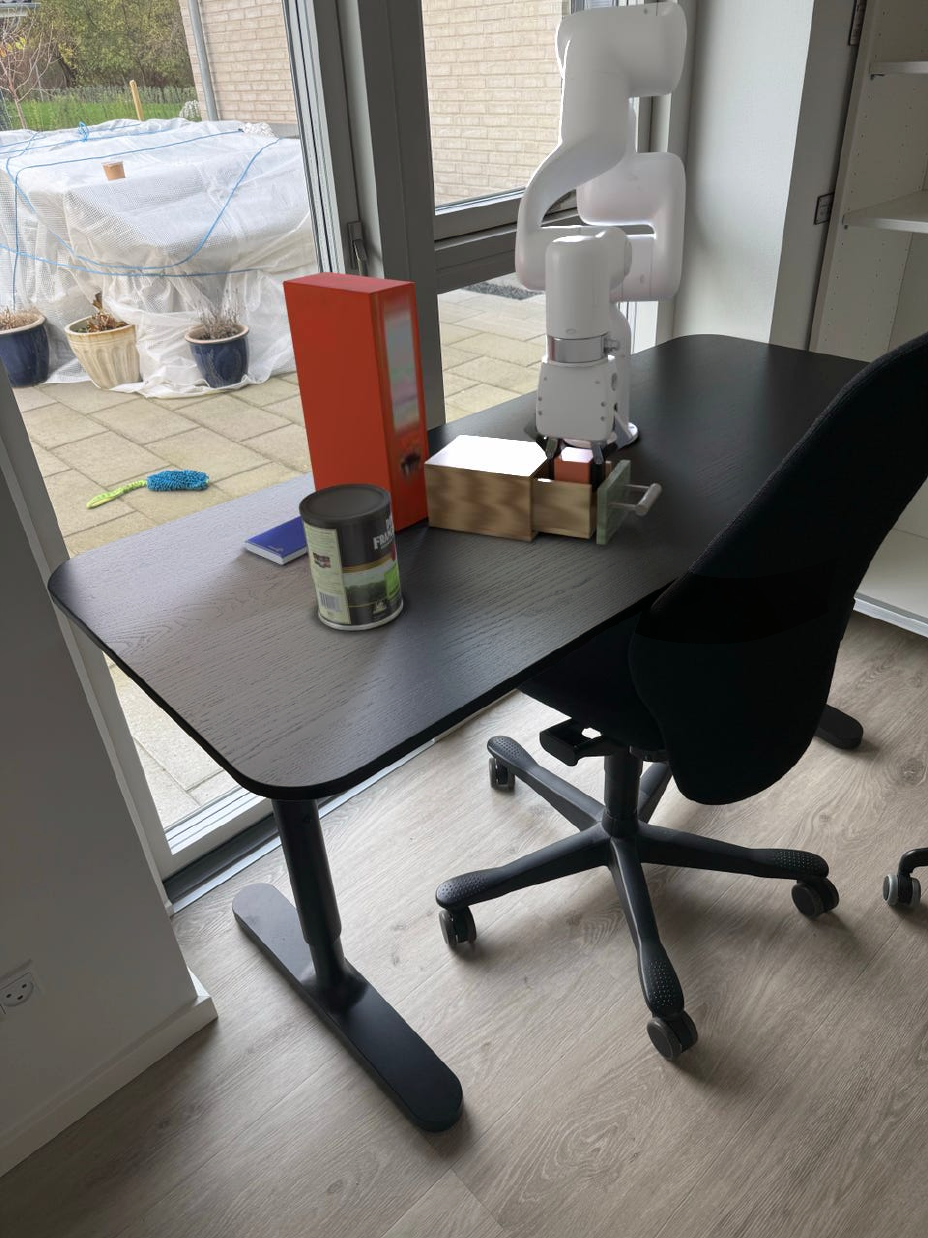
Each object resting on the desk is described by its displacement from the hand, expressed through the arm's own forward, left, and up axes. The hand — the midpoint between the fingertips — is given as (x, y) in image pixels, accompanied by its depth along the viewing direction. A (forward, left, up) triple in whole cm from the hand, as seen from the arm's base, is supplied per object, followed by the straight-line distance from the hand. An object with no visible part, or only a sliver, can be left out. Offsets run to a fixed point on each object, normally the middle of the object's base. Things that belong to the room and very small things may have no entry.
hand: (576, 484), depth 116 cm
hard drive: (+15, -35, -7) cm, 39 cm away
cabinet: (0, -12, -6) cm, 14 cm away
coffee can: (+28, -17, -7) cm, 34 cm away
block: (0, 0, 0) cm, 0 cm away
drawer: (0, +1, -6) cm, 6 cm away
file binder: (+3, -31, -7) cm, 31 cm away
